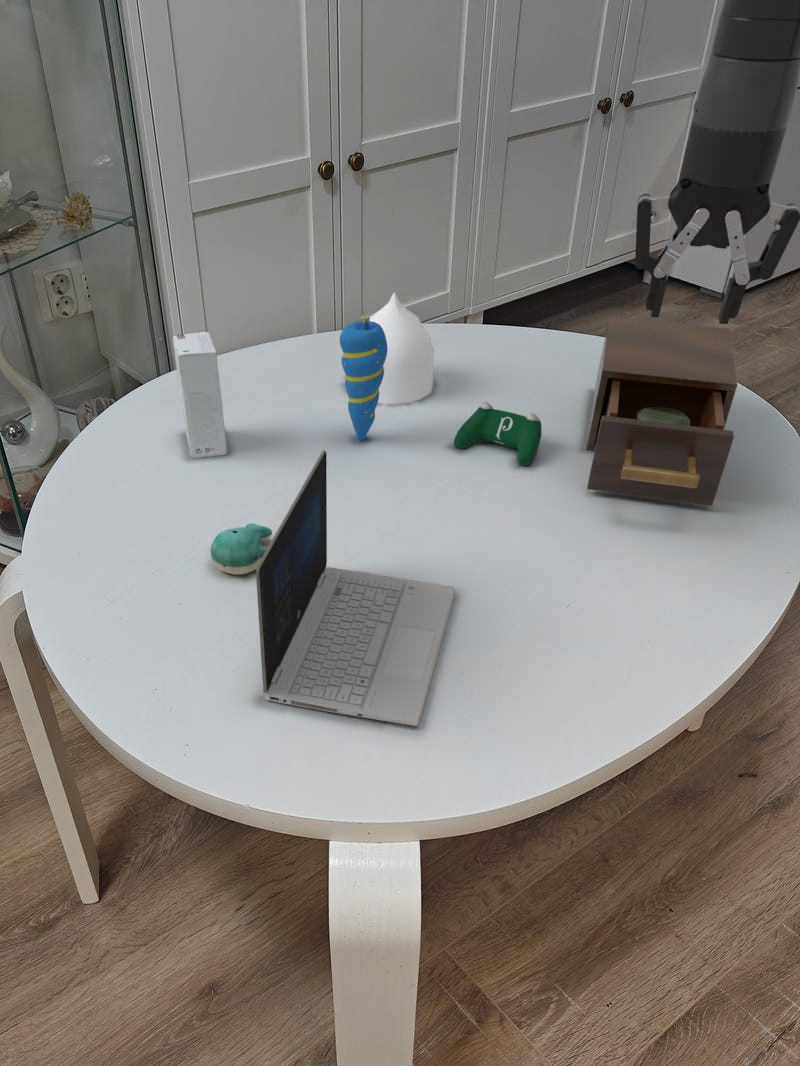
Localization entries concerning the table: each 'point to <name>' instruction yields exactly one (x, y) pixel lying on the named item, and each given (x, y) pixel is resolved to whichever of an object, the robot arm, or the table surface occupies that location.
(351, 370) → the ornament
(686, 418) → the tin
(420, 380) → the teardrop
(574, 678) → the table surface
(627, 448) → the drawer
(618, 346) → the cabinet
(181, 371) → the cosmetic box
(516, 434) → the gaming controller
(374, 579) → the laptop
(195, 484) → the table surface
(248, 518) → the table surface
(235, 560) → the whale figurine
